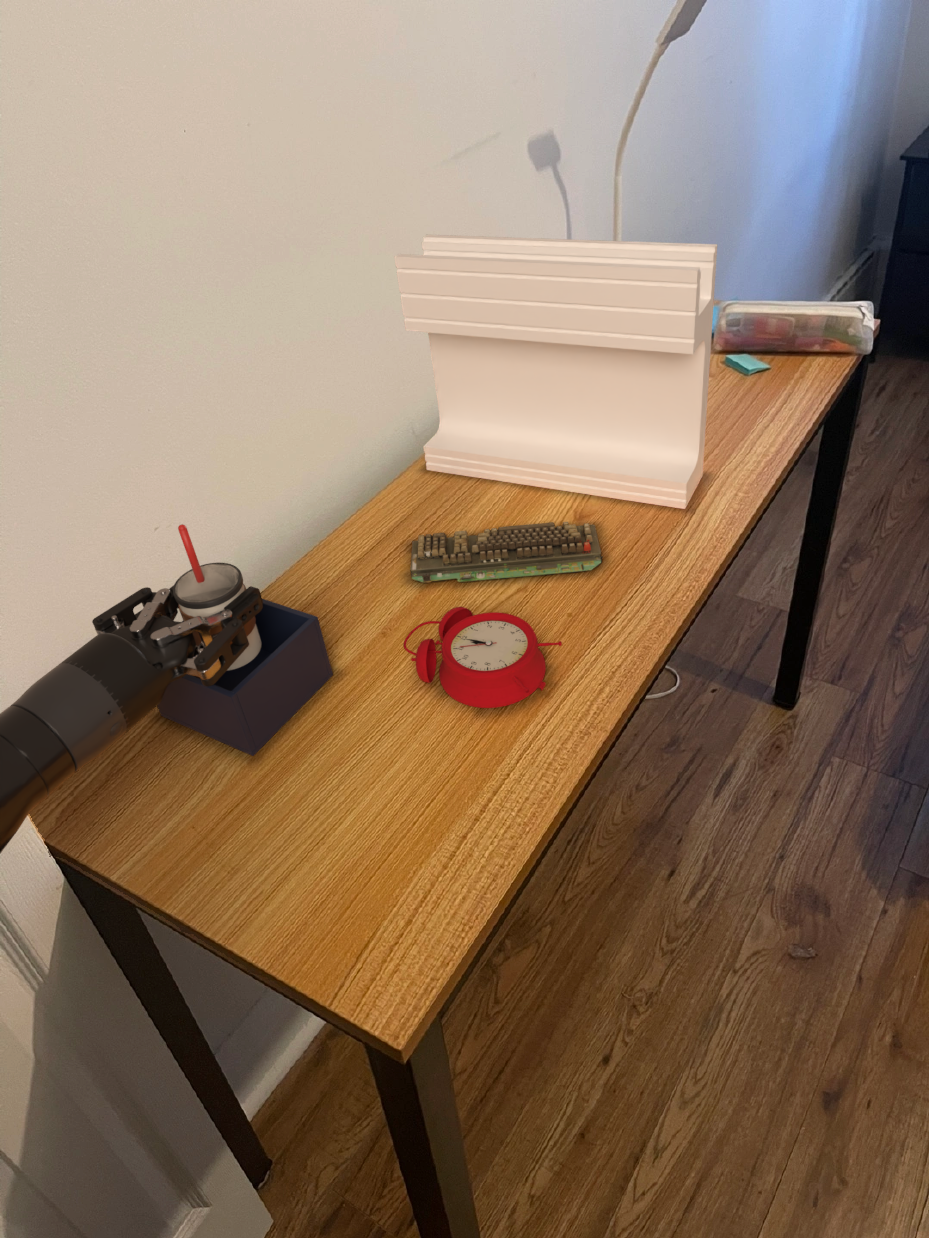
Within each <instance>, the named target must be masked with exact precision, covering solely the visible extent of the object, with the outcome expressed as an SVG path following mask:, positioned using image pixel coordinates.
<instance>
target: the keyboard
mask: <svg viewBox="0 0 929 1238" xmlns="http://www.w3.org/2000/svg"><path fill="white" fill-rule="evenodd" d="M417 537H418V539H417V540H412V541H411V542H412V543H411V544H412V546H411V555H410V556H411V557H410V566H409V568H410V577H411V580H414V581H417V582H420V584H421V583H422V584H428V583H435V582H436V583H438V582H446V581H453V580H456V581H457V582H458V583H472V582H473V583H474V582H479V581H489V580H490V581H492V580H507V579H511V578H513V579H516V578H527V577H539V576H553V575H559V574H560V575H561V574H576V573H581V572H590V571H593V570H594V569H595V568H597V567H599V566H600V565H601V564H602V563H603V558H604V556H603V555H602V550H601V546H600V540H599V537H598V533H597V529H596V525H595V524H590V523H589V522H588V523H583V525H577V524H575V523H574V524H570V523H569V521H563V522H562V525H556V526H555V522H554V521H549V522H544V523H543V522H542V523H528V524H517V525H506V526H499V527H498V528H497V527H494V528H491V529H490V528H486V529H485V528H484V530H483V532H478V533H477V534H475V535H473V534H472V535H468V532H467V530H458V531H457V530H455V531H454V532H453V537H451V536H450V537H447V534H446V533H445V532H434V533H433V534H431V533H428V534H425V535H424V534H419V535H418V536H417Z"/></svg>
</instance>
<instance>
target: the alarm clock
mask: <svg viewBox="0 0 929 1238" xmlns="http://www.w3.org/2000/svg"><path fill="white" fill-rule="evenodd" d="M430 624H432V625H433V624H434V625H435V624H436V625H437V624H438V630H437V631H438V636H439V639H440V640H439V639H437V640H436V641H434V639H433V638H425V639H423V640H421V642H420V643H419V645H418V646H417V650H416V652H414V651H412V650H410V649H409V648H408V647H407V643H408V640H409V639H410V638H411V636H412V635H413V634H414V633H415V632H416V631H417V630H418V629H420V628H421V627H423V626H427V625H430ZM538 642H539V641H538V636H537V634H536V632H535V630H534V628H533V627H532V626H531V625H530V623H529V622H528V621H526V620H524V619H523V618H521V617H519V616H517V615H514V614H511V613H505V612H498V611H497V612H495V611H494V612H492V611H491V612H482V613H478V614H477V613H476V614H473V612H472V610H470V609H469V608H467V607H464V606H456V607H453V608H451V609H450V610H448V611H446V613H445V614H444V615H443V616H442V617H441V619H440V621H439V620H429V621H424V622H422V623H419V624H418V625H416V626H415V627H414V628H412V629H411V630H410V632H409V633H408V634H407V636H406V637H405V639H404V641H403V649H404V650H405V651H406V652H407V653H408V654H411V655H413V656H414V657H411V658H410V661H411V662H415V670H416V674H417V676H418V678H419V680H420V681H422V682H423V683H428V684H431V683H433V681H434V679H435V676H436V670H437V654H441V657H442V660H441V662H440V665H439V669H438V670H439V671H438V675H439V682H440V684H441V687H442V689H443V690H444V692H445V693H446V694H447V695H448V696H449V697H450V698H452V699H453V700H455V701H456V702H458V703H460V704H463V705H465V706H469V707H474V708H477V709H478V708H481V709H494V708H495V709H496V708H501V707H507V706H510V705H514V704H517V703H519V702H521V701H523V700H525V699H526V698H528V697H530V696H531V695H532V694H533V693H534V692H536V691H537V689H540V691H541V692H542V691H543V690H544V688H545V687H546V685H547V683H546V682H545V681H544V679H545V675H546V672H547V671H546V660H545V656H544V654H543V653H542V651H541V650H540V648H539V647H549V646H559V647H561V646H563V643H562V641H561V640H560V641H557V642H539V643H538ZM439 645H440V646H441V649H440V650H437V647H436V646H439Z"/></svg>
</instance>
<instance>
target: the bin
mask: <svg viewBox="0 0 929 1238" xmlns="http://www.w3.org/2000/svg"><path fill="white" fill-rule="evenodd" d="M262 600H263V608H262V610H261V611H260V612H259V613H258V614H256V616H255V618H256V627H257V630H258V633H259V636H260V639H261V649H260V652H259V653H258V655H257V656H256V657H255V658H254V659H253V660H252V661H251V662H249V663H248V664H246V665H244V666H242V667H240V668H237V669H233V670H229V671H226V672H225V673H224V674H223V675H222V676H221V677H220V678H219V680H218V681H217V682H216V683H215V684H214V685H212V686H204V685H203V684H202V682H201V679H200V677H196V676H192V675H188V674H187V675H185V676H184V677H182V678H179V679H177V680H175V681H173V682H171V683H170V684H169V685H168V686H167V688H166V690H165V693H164V696H163V699H162V701H161V702H160V703H159V704H158V705H157V706H156V707H157V710H159V714H160V716H161V717H163V718H164V719H167V720H170V721H172V722H174V723H176V724H179V725H181V726H183V727H186V728H188V729H190V730H192V731H194V732H196V733H199V734H201V735H204V736H205V737H208V738H211V739H213V740H215V741H218V742H220V743H222V744H223V745H227V746H229V747H231V748H233V749H236V750H238V751H240V752H243V753H245V754H247V755H249V756H251V757H254V756H256V754H257V753H258V752H260V751H261V749H262V748H263V747H264V746H265V745H266V744H267V743H268V742H269V741H270V740H272V738H273V737H274V736H275V734H277V733H278V732H279V731H280V730H281V729H282V728H283V727H284V725H285V724H287V722H289V720H290V719H291V718H292V717H294V715H296V713H297V712H299V710H301V708H303V706H304V705H305V704H306V703H307V702H309V700H311V698H312V697H313V696H314V695H315V694H316V693H317V692H318V691H319V690H320V689H321V688H322V687H323V686H324V685H325V684H326V683H327V682H328V681H329V680H330V679H331V678H332V677H333V676H334V673H333V668H332V666H331V662H330V661H331V660H330V658H329V654H328V650H327V647H326V646H327V645H326V643H325V639H324V635H323V631H322V628H321V624H320V620H319V617H318V616H317V615H314V614H311V613H308V612H304V611H302V610H299V609H296V608H292V607H289V606H286V605H283V604H280V603H277V602H274V601H272V600H268V599H265V598H262ZM181 622H184V621H183V620H181Z"/></svg>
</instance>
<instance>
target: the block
mask: <svg viewBox="0 0 929 1238" xmlns="http://www.w3.org/2000/svg"><path fill="white" fill-rule="evenodd" d="M421 248H422V251H423V254H411V253H410V254H409V253H397V254H396V255H395V256H394V263H395V268H396V269H397V271H396V276H397V284H398V291H399V293H400V303H401V309H402V317H404V320H403V323H404V331H406V332H417V333H418V332H419V333H427V335H428V342H429V348H430V357H431V364H432V371H433V379H434V385H435V393H436V400H437V401H436V402H437V408H438V416H439V425H438V428H437V431H436V432H435V434H434V435H433V436H432V437H431V438H430V439H429V440H428V441H427V442H426V443H425V444H424V445H423V446H422V448H423V453H425V454H424V461H425V462H426V463H425V467H426V471H431V472H439V473H445V474H450V475H451V474H452V475H458V476H464V477H465V476H466V477H470V478H479V479H484V480H491V481H497V482H504V483H510V484H518V485H523V486H524V485H525V486H530V487H538V488H544V489H550V490H556V491H564V492H571V493H577V494H582V495H591V496H596V497H603V498H610V499H615V500H616V499H617V500H621V501H623V500H624V501H628V502H629V501H630V502H636V503H643V504H650V505H656V506H662V507H669V508H676V509H681V510H686V509H687V506H688V505H689V502H691V501H690V500H691V499H692V497H693V495H694V493H695V491H696V489H697V487H698V486H699V483H700V482H701V480H702V479H703V475H704V460H705V445H706V444H705V443H706V431H707V430H706V429H707V414H708V400H709V382H710V366H711V351H712V338H713V337H712V334H713V320H714V307H715V306H714V305H715V289H716V274H717V257H718V244H717V243H689V242H688V243H687V242H662V241H661V242H659V241H633V240H632V241H630V240H629V241H628V240H598V239H573V238H542V237H541V238H540V237H512V236H511V237H509V236H483V235H482V236H481V235H456V234H455V235H454V234H453V235H452V234H451V235H449V234H425V235H424V236H423V237H422V241H421Z"/></svg>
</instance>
